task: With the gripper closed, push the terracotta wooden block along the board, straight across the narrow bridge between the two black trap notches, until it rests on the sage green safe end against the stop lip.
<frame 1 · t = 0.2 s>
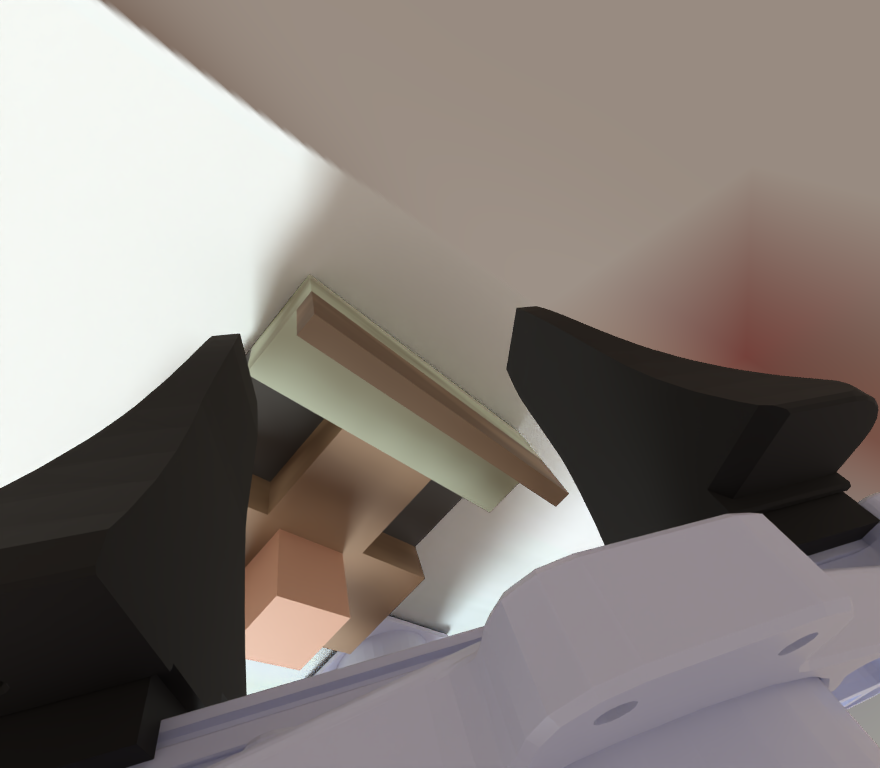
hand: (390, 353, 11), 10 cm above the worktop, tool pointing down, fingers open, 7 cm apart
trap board: (331, 480, 25), on the worktop
block: (289, 566, 23), point 3 cm above the worktop, touching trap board
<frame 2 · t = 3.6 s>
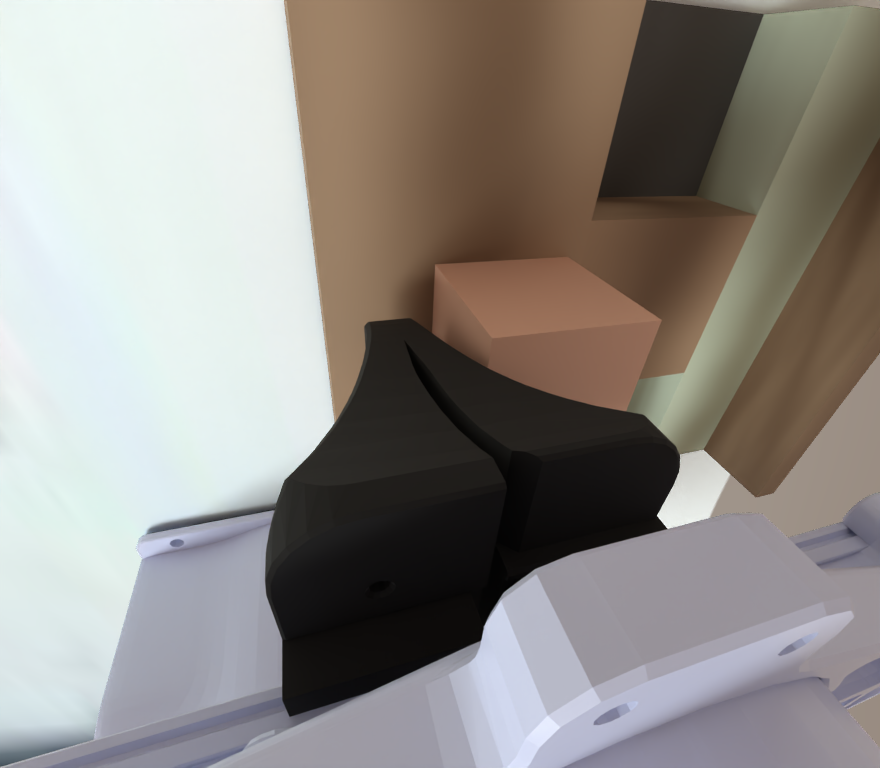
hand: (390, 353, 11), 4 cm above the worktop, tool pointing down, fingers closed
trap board: (562, 278, 16), on the worktop
block: (495, 324, 13), point 3 cm above the worktop, touching gripper, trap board
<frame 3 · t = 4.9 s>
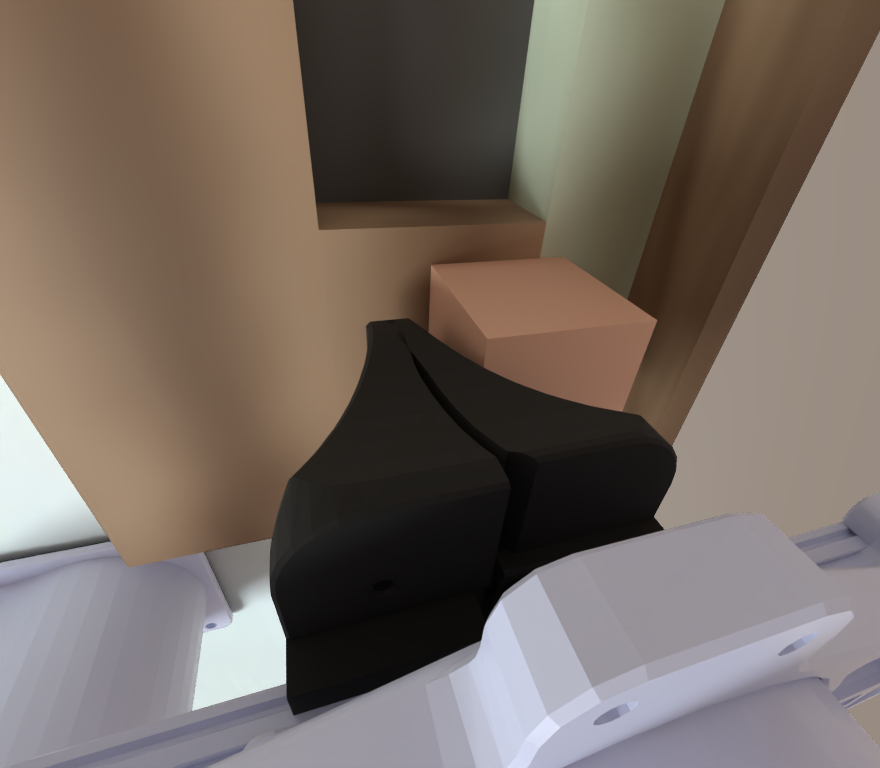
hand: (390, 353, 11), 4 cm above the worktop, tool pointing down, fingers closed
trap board: (368, 292, 15), on the worktop
block: (491, 324, 13), point 3 cm above the worktop, touching gripper, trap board
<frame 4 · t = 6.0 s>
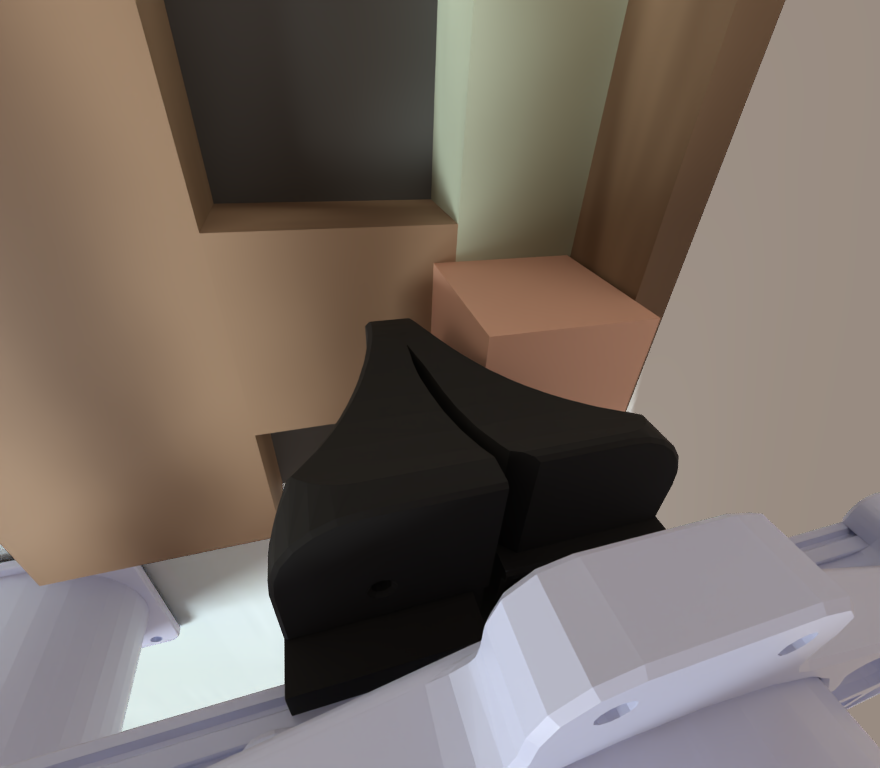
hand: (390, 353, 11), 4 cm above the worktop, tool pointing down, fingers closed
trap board: (290, 297, 14), on the worktop
block: (494, 323, 13), point 3 cm above the worktop, touching gripper, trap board
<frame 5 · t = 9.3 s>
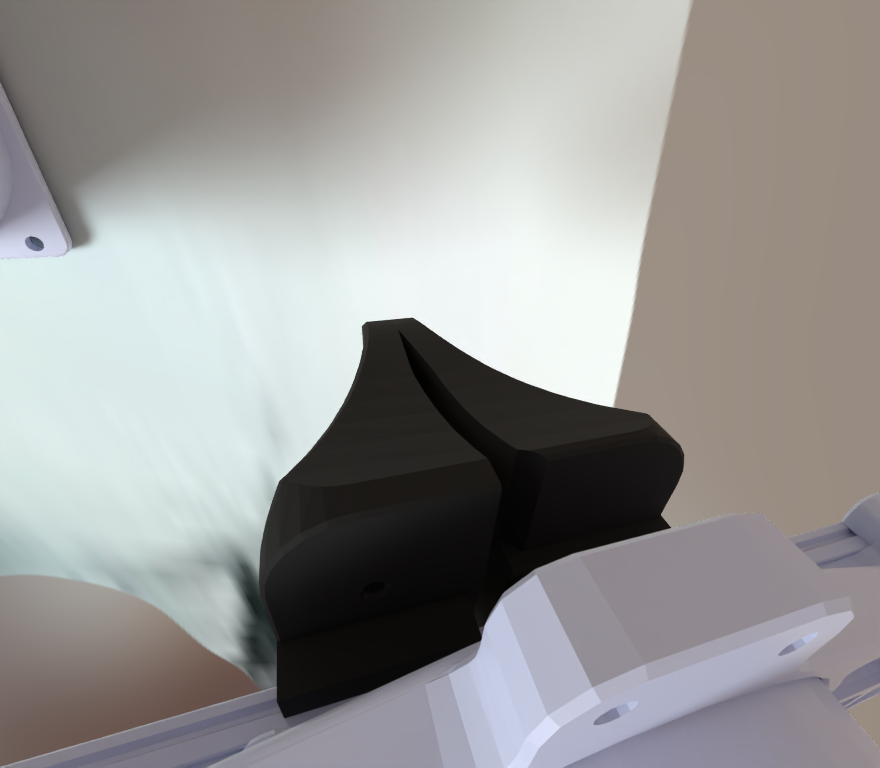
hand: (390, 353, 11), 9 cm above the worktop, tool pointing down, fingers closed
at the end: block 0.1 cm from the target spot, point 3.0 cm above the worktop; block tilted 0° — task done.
